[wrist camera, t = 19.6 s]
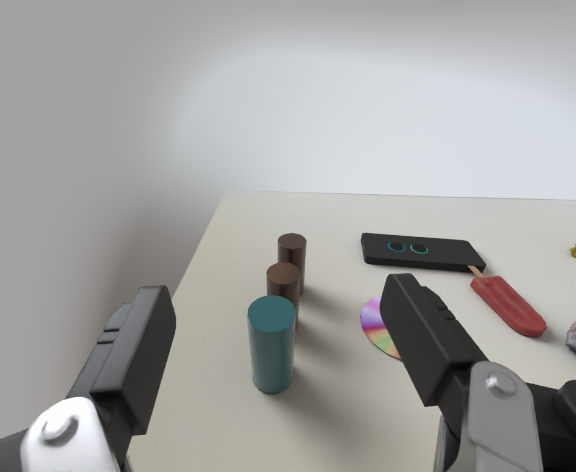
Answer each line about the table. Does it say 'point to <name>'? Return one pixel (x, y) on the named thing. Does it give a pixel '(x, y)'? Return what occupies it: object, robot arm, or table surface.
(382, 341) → the cd
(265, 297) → the teal cylinder
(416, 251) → the smart home device
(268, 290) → the brown wooden cylinder
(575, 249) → the extension cord
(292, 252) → the cylinder
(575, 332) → the geode
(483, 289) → the popsicle
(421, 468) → the table surface
